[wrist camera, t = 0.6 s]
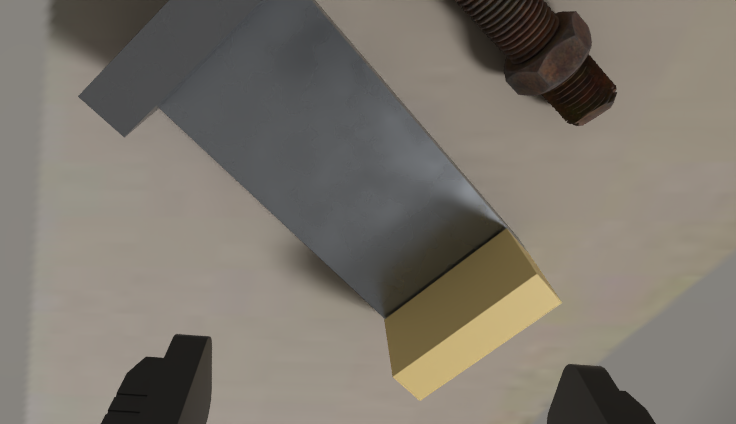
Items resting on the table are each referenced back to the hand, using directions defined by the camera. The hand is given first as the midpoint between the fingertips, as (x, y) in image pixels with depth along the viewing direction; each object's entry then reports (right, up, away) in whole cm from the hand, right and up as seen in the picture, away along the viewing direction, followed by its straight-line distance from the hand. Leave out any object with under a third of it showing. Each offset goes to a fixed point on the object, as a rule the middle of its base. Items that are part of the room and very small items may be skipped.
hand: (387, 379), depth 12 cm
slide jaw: (+5, -1, +23) cm, 24 cm away
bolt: (+7, +15, +19) cm, 25 cm away
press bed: (-2, +7, +21) cm, 23 cm away
